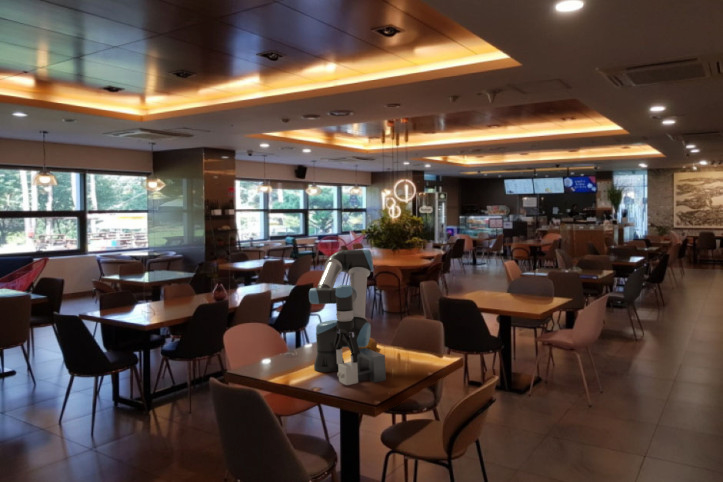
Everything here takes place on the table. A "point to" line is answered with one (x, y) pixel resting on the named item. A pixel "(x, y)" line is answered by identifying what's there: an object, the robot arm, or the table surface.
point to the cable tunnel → (372, 364)
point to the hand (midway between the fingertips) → (347, 366)
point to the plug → (351, 374)
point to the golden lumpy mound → (370, 345)
